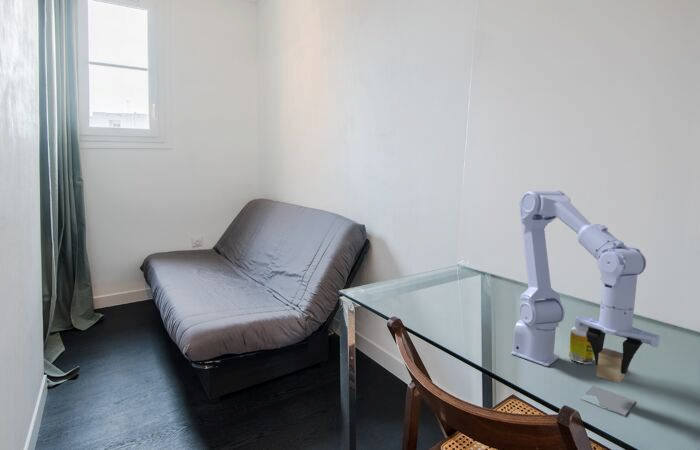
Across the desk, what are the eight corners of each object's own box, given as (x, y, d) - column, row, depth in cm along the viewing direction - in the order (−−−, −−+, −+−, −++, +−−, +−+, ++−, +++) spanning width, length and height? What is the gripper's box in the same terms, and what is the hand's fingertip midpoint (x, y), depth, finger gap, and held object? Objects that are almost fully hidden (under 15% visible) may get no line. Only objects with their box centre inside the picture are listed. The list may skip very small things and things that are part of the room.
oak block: (596, 375, 81) (598, 353, 81) (602, 369, 84) (604, 347, 84) (619, 383, 78) (621, 359, 78) (624, 376, 81) (626, 354, 81)
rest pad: (580, 399, 82) (580, 397, 82) (592, 386, 87) (592, 385, 87) (625, 416, 76) (625, 415, 76) (635, 401, 81) (635, 400, 81)
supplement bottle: (586, 367, 97) (590, 328, 95) (564, 358, 101) (567, 321, 100) (597, 362, 100) (600, 324, 99) (575, 353, 104) (578, 317, 103)
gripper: (571, 300, 82) (566, 361, 84) (656, 319, 71) (649, 388, 73) (583, 294, 87) (578, 352, 88) (664, 311, 76) (657, 376, 78)
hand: (611, 368), depth 81 cm, fingers closed on oak block, 4 cm apart
